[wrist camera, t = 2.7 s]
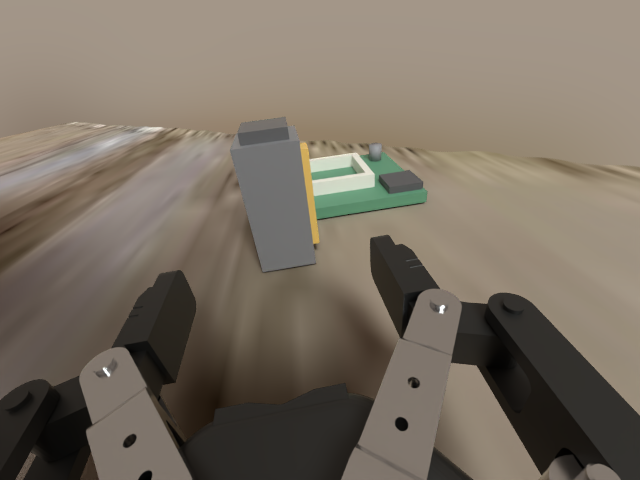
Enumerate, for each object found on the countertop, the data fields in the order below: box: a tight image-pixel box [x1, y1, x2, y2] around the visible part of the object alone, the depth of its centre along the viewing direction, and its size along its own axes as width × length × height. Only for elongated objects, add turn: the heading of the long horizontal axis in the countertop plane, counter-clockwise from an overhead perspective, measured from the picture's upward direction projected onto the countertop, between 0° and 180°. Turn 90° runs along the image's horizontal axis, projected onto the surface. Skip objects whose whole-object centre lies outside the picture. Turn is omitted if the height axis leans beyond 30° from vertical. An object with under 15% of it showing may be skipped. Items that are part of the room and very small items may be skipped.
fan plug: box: [230, 117, 319, 272], centre depth 23 cm, size 5×4×11 cm
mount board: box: [309, 143, 427, 219], centre depth 35 cm, size 18×14×3 cm
